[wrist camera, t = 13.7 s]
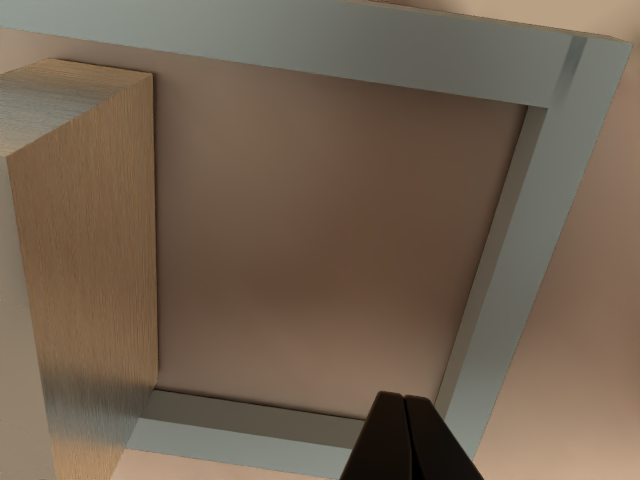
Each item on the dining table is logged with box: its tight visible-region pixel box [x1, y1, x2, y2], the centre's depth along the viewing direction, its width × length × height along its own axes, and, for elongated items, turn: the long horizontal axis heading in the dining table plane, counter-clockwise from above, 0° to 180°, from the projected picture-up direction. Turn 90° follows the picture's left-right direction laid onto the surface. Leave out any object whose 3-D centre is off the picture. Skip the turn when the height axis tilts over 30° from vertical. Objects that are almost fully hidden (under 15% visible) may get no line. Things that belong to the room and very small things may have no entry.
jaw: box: [0, 58, 158, 480], centre depth 10 cm, size 2×8×5 cm, turn 173°
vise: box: [0, 0, 634, 480], centre depth 10 cm, size 18×11×5 cm, turn 83°
